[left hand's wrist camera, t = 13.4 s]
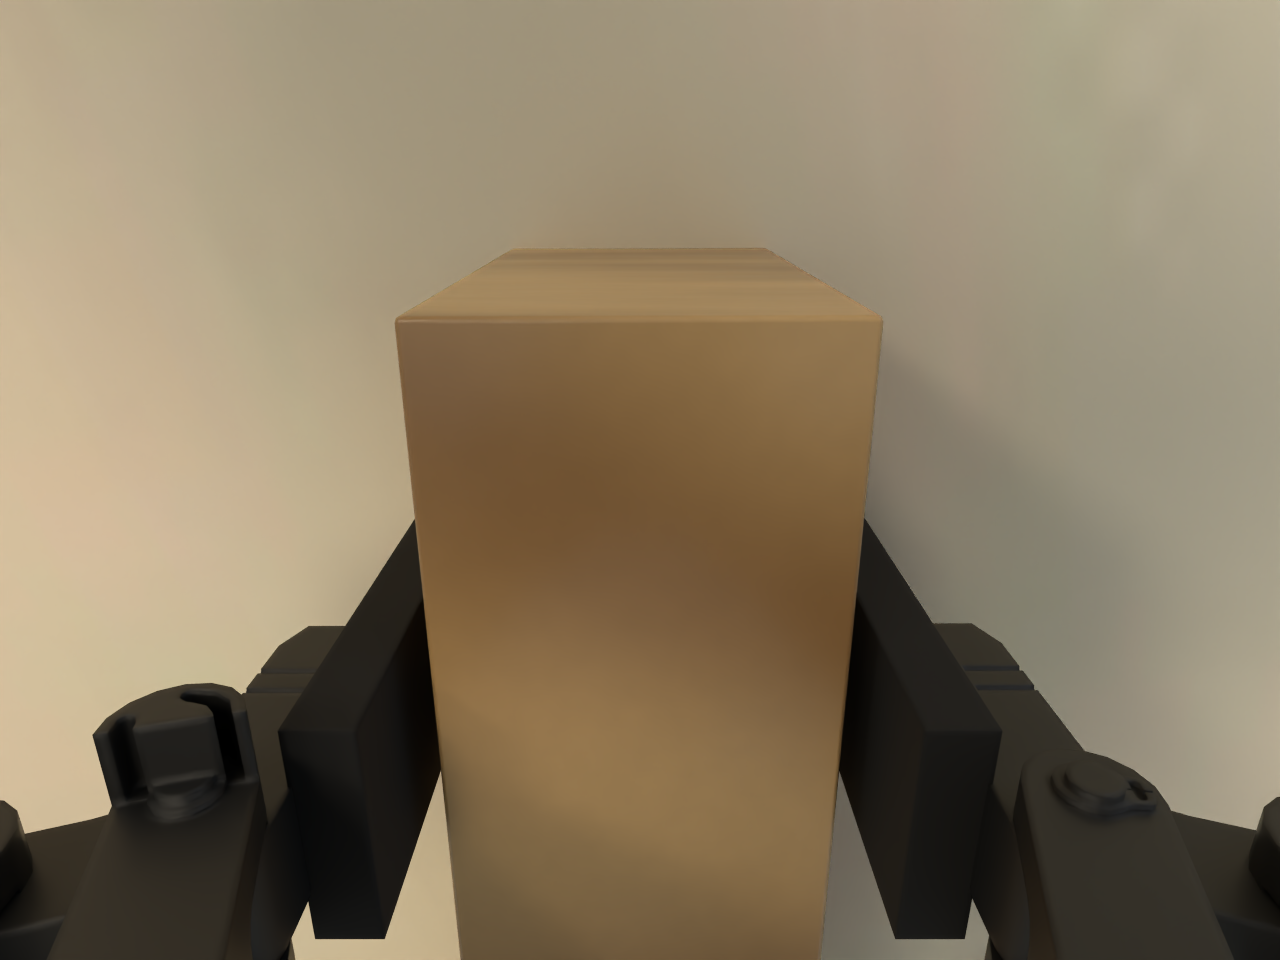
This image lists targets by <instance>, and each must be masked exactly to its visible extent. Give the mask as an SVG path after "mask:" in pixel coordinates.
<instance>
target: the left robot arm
mask: <svg viewBox="0 0 1280 960" xmlns="http://www.w3.org/2000/svg"><path fill="white" fill-rule="evenodd" d="M93 739H94V742H95V746H96V750H97V753H98V757H99V761H100V764H101V768H102V771H103V775H104V779H105V782H106V786H107V790H108V793H109V797H110V800H111V804H112V807H111V809H110V812H109V814H108V815H105V816H102V817H98V818H95V819H91V820H87V821H82V822H78V823H73V824H68V825H64V826H59V827H55V828H50V829H45V830H41V831H36V832H31V833H27V834H25V833H24V830H23V827H22V824H21V821H20V818H19V815H18V812H17V810H16V809H14V808H13V807H12V806H10V805H9V804H8V803H6V802H5V801H1V800H0V960H295V955H294V949H293V944H292V939H291V938H292V936H293V933H294V931H295V929H296V927H297V925H298V922H299V920H300V918H301V916H302V914H303V911H304V909H305V907H306V905H307V903H308V902H309V908H310V913H311V918H312V924H313V929H314V935H315V939H385V936H386V933H387V930H388V927H389V924H390V921H391V918H392V915H393V912H394V909H395V906H396V903H397V900H398V897H399V894H400V891H401V888H402V885H403V882H404V879H405V876H406V873H407V870H408V867H409V864H410V861H411V858H412V855H413V852H414V849H415V846H416V843H417V840H418V837H419V834H420V831H421V828H422V825H423V822H424V819H425V816H426V813H427V810H428V807H429V804H430V801H431V798H432V795H433V792H434V789H435V786H436V783H437V780H438V777H439V774H440V771H441V764H440V755H439V745H438V735H437V726H436V716H435V707H434V697H433V687H432V678H431V668H430V658H429V649H428V639H427V629H426V620H425V610H424V601H423V591H422V581H421V572H420V562H419V552H418V543H417V533H416V523H415V520H414V521H413V523H412V524H411V526H410V527H409V529H408V530H407V532H406V533H405V535H404V537H403V538H402V540H401V541H400V543H399V544H398V546H397V547H396V549H395V550H394V552H393V553H392V555H391V557H390V558H389V560H388V561H387V563H386V564H385V566H384V567H383V569H382V570H381V572H380V574H379V575H378V577H377V578H376V580H375V581H374V583H373V584H372V586H371V587H370V589H369V590H368V592H367V594H366V595H365V597H364V598H363V600H362V601H361V603H360V604H359V606H358V607H357V609H356V610H355V612H354V614H353V615H352V617H351V618H350V620H349V621H348V623H347V624H346V626H308V627H307V628H305V629H304V630H302V631H301V632H299V633H298V634H296V635H295V636H293V637H292V638H290V639H289V640H287V641H286V642H284V643H283V644H281V645H279V646H278V648H277V649H276V650H275V652H274V653H273V654H272V656H271V657H270V658H269V659H268V661H267V662H266V663H265V665H264V666H263V667H262V669H261V674H257V675H256V677H255V678H254V679H253V680H252V682H251V683H250V684H249V686H248V687H247V691H246V693H243V694H242V695H241V694H240V693H238V692H237V691H236V690H235V689H233V688H232V687H228V686H223V685H218V684H214V683H203V684H185V685H181V686H177V687H172V688H168V689H164V690H160V691H156V692H154V693H151V694H149V695H147V696H144V697H142V698H140V699H137V700H135V701H132V702H130V703H128V704H127V705H125V706H124V707H122V708H121V709H119V710H118V711H116V712H115V713H113V714H112V715H111V716H109V717H108V718H106V719H105V721H104V722H103V723H102V724H101V725H100V727H99V728H98V729H97V730H96V731H95V733H94V734H93ZM839 771H840V774H841V777H842V780H843V783H844V786H845V789H846V792H847V795H848V798H849V801H850V804H851V807H852V810H853V813H854V816H855V819H856V822H857V825H858V828H859V831H860V834H861V837H862V840H863V843H864V846H865V849H866V852H867V855H868V858H869V861H870V864H871V867H872V870H873V873H874V876H875V879H876V882H877V885H878V888H879V891H880V894H881V898H882V901H883V904H884V907H885V910H886V913H887V916H888V919H889V922H890V925H891V928H892V931H893V934H894V937H895V939H965V935H966V929H967V924H968V918H969V913H970V907H971V902H972V899H973V901H974V903H975V905H976V907H977V909H978V912H979V914H980V916H981V918H982V920H983V923H984V925H985V927H986V929H987V931H988V934H989V939H988V944H987V949H986V954H985V960H1280V797H1277V798H1275V799H1274V800H1273V801H1271V802H1270V803H1269V804H1267V805H1266V806H1265V807H1264V809H1263V812H1262V815H1261V818H1260V821H1259V824H1258V827H1257V830H1252V829H1247V828H1242V827H1238V826H1233V825H1228V824H1224V823H1219V822H1214V821H1210V820H1205V819H1201V818H1196V817H1191V816H1187V815H1184V814H1180V813H1177V812H1173V811H1171V810H1170V808H1169V806H1168V804H1167V803H1166V801H1165V800H1164V798H1163V797H1162V796H1161V794H1160V793H1159V791H1158V790H1157V789H1156V787H1155V786H1154V785H1152V784H1151V783H1150V782H1148V781H1147V780H1146V779H1145V778H1143V777H1142V776H1141V775H1139V774H1138V773H1137V772H1136V771H1134V770H1133V769H1131V768H1128V767H1126V766H1124V765H1122V764H1120V763H1118V762H1116V761H1114V760H1112V759H1110V758H1108V757H1104V756H1101V755H1097V754H1093V753H1090V752H1086V751H1084V750H1083V749H1082V747H1081V746H1080V745H1079V743H1078V742H1077V741H1076V740H1075V738H1074V737H1073V736H1072V734H1071V733H1070V732H1069V730H1068V729H1067V728H1066V726H1065V725H1064V724H1063V723H1062V721H1061V720H1060V719H1059V717H1058V716H1057V715H1056V713H1055V712H1054V711H1053V710H1052V708H1051V707H1050V706H1049V704H1048V703H1047V702H1046V700H1045V699H1044V698H1043V697H1042V695H1041V694H1040V693H1039V691H1038V690H1034V685H1033V683H1032V682H1031V681H1030V680H1029V678H1028V677H1027V676H1026V674H1025V673H1024V672H1023V671H1020V670H1019V665H1018V664H1017V663H1016V661H1015V660H1014V659H1013V657H1012V656H1011V655H1010V654H1009V652H1008V651H1007V650H1006V648H1005V647H1004V646H1003V644H1002V643H1000V642H999V641H997V640H996V639H994V638H993V637H991V636H990V635H988V634H987V633H985V632H984V631H982V630H981V629H979V628H978V627H976V626H975V625H973V624H933V623H932V621H931V620H930V618H929V617H928V615H927V614H926V612H925V611H924V609H923V607H922V606H921V604H920V603H919V601H918V600H917V598H916V597H915V595H914V594H913V592H912V590H911V589H910V587H909V586H908V584H907V583H906V581H905V580H904V578H903V577H902V575H901V574H900V572H899V570H898V569H897V567H896V566H895V564H894V563H893V561H892V560H891V558H890V557H889V555H888V554H887V552H886V550H885V549H884V547H883V546H882V544H881V543H880V541H879V540H878V538H877V537H876V535H875V533H874V532H873V530H872V529H871V527H870V526H869V524H868V523H867V521H866V520H865V518H864V523H863V533H862V544H861V554H860V564H859V574H858V584H857V594H856V604H855V615H854V625H853V635H852V645H851V655H850V665H849V675H848V686H847V696H846V706H845V716H844V726H843V736H842V747H841V757H840V767H839Z"/></svg>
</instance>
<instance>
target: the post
mask: <svg viewBox="0 0 1280 960" xmlns="http://www.w3.org/2000/svg"><path fill="white" fill-rule="evenodd" d="M882 330H883V319H882V317H881V316H880V315H878V314H876V313H875V312H873V311H871V310H869V309H868V308H866V307H864V306H863V305H861V304H859V303H858V302H856V301H854V300H852V299H851V298H849V297H847V296H846V295H844V294H842V293H841V292H839V291H837V290H835V289H834V288H832V287H830V286H829V285H827V284H825V283H824V282H822V281H820V280H818V279H817V278H815V277H813V276H812V275H810V274H808V273H807V272H805V271H803V270H801V269H800V268H798V267H796V266H795V265H793V264H791V263H790V262H788V261H786V260H784V259H783V258H781V257H779V256H778V255H776V254H774V253H773V252H771V251H769V250H767V249H765V248H681V249H512V250H510V251H509V252H507V253H505V254H503V255H502V256H500V257H498V258H497V259H495V260H493V261H492V262H490V263H488V264H487V265H485V266H483V267H481V268H480V269H478V270H476V271H475V272H473V273H471V274H470V275H468V276H466V277H465V278H463V279H461V280H459V281H458V282H456V283H454V284H453V285H451V286H449V287H448V288H446V289H444V290H443V291H441V292H439V293H437V294H436V295H434V296H432V297H431V298H429V299H427V300H426V301H424V302H422V303H421V304H419V305H417V306H416V307H414V308H412V309H410V310H409V311H407V312H405V313H404V314H402V315H400V316H399V317H397V318H396V320H395V331H396V340H397V350H398V360H399V369H400V379H401V388H402V398H403V408H404V417H405V427H406V437H407V446H408V456H409V466H410V475H411V485H412V495H413V504H414V514H415V523H416V533H417V543H418V552H419V562H420V572H421V581H422V591H423V601H424V610H425V620H426V629H427V639H428V649H429V658H430V668H431V678H432V687H433V697H434V707H435V716H436V726H437V735H438V745H439V755H440V764H441V774H442V784H443V793H444V803H445V813H446V822H447V832H448V842H449V851H450V861H451V870H452V880H453V890H454V899H455V909H456V919H457V928H458V938H459V948H460V957H461V960H821V949H822V939H823V929H824V919H825V909H826V899H827V889H828V878H829V868H830V858H831V848H832V838H833V828H834V818H835V807H836V797H837V787H838V777H839V767H840V757H841V747H842V736H843V726H844V716H845V706H846V696H847V686H848V675H849V665H850V655H851V645H852V635H853V625H854V615H855V604H856V594H857V584H858V574H859V564H860V554H861V544H862V533H863V523H864V513H865V503H866V493H867V483H868V473H869V462H870V452H871V442H872V432H873V422H874V412H875V401H876V391H877V381H878V371H879V361H880V351H881V341H882Z"/></svg>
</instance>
